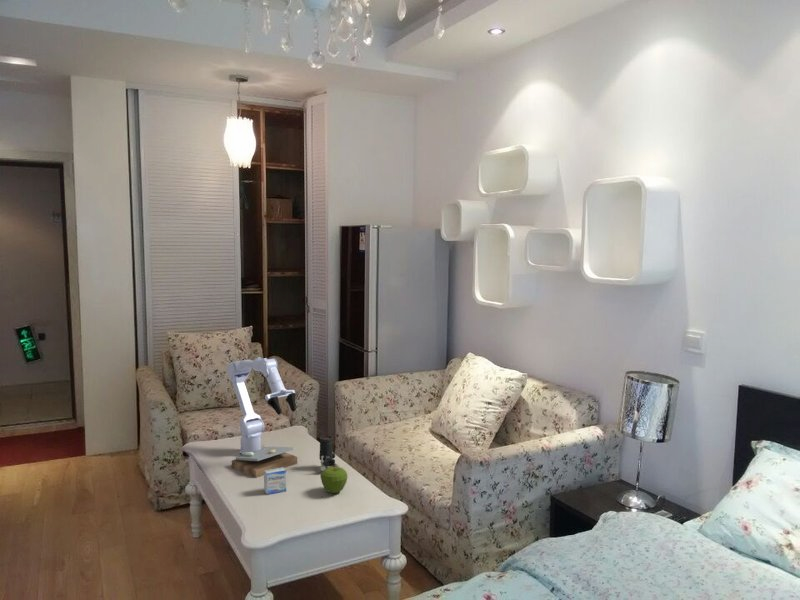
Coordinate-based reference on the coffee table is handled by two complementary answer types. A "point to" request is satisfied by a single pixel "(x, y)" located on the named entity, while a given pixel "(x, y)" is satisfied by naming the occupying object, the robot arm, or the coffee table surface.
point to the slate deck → (263, 453)
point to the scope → (326, 453)
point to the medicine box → (274, 480)
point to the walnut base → (264, 464)
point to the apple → (334, 479)
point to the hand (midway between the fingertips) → (287, 412)
